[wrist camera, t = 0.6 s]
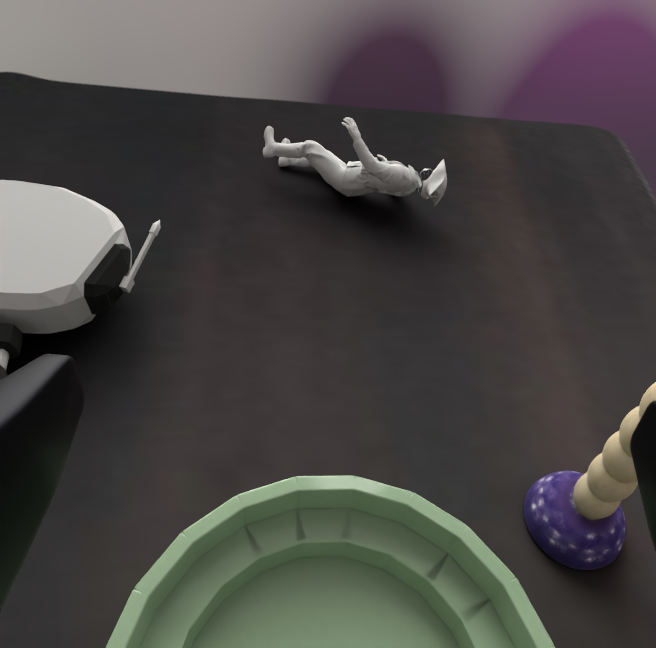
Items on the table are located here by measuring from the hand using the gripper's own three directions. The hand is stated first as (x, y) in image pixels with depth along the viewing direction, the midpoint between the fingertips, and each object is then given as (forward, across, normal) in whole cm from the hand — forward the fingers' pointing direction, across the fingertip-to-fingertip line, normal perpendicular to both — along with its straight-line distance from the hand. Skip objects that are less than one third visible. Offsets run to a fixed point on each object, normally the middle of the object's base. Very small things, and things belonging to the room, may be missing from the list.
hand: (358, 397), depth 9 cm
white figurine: (+31, 0, +10) cm, 32 cm away
